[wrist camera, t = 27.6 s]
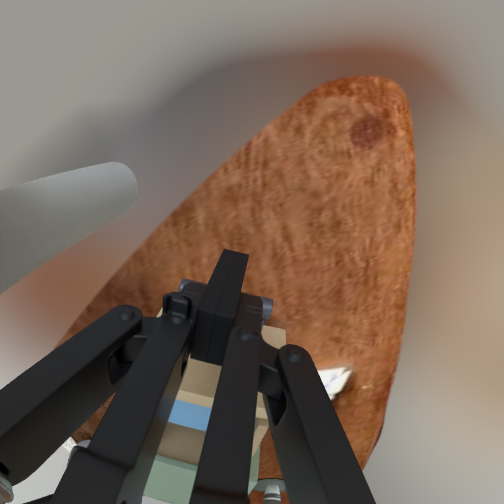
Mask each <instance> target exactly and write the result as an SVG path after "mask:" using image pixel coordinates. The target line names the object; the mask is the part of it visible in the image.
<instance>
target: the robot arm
mask: <svg viewBox="0 0 504 504" xmlns="http://www.w3.org/2000/svg"><path fill="white" fill-rule="evenodd" d="M248 257H249V255H248V254H244V253H239V252H235V251H231V250H227V249H224V250H223V252H222V254H221V256H220V259H219V261H218V263H217V265H216V267H215V269H214V272H213V274H212V276H211V278H210V280H209V282H208V285H204V284H200V283H196V282H192V281H191V282H189V283H187V284H186V285H184V287H183V289H182V290H181V292H171V293H168V294H166V295H165V296H164V297H163V309H162V315H161V316H160V317H142V312H141V311H140V310H139V309H138V308H137V307H134V306H131V305H121V306H117V307H115V308H114V309H112V310H111V311H109V312H108V313H106V314H105V315H103V316H102V317H100V318H99V319H98V320H96V321H95V322H93V323H92V324H90V325H89V326H88V327H86V328H85V329H83V330H82V331H80V332H79V333H78V334H76V335H75V336H73V337H72V338H70V339H69V340H68V341H66V342H65V343H63V344H62V345H61V346H59V347H58V348H56V349H55V350H54V351H52V352H51V353H49V354H48V355H47V356H46V357H44V358H43V359H41V360H40V361H39V362H37V363H36V364H34V365H33V366H32V367H30V368H29V369H28V370H26V371H25V372H24V373H22V374H21V375H19V376H18V377H17V378H16V379H14V380H13V381H11V382H10V383H9V384H7V385H6V386H5V387H4V388H2V389H1V390H0V504H5V503H6V502H8V503H9V502H11V501H12V500H13V498H14V495H13V492H12V486H14V485H16V484H18V483H20V482H22V481H23V480H25V479H26V478H28V477H29V476H30V475H31V474H32V473H34V472H35V471H36V470H37V469H38V468H39V467H40V466H41V465H42V464H43V463H44V462H45V461H46V460H47V459H48V458H49V457H50V456H51V455H52V454H53V453H54V452H55V451H56V450H57V449H58V448H59V447H60V446H61V445H62V444H63V443H64V442H65V441H66V440H67V439H68V438H69V437H70V436H71V435H72V434H73V433H74V432H75V431H76V430H77V429H78V428H79V427H80V426H81V425H82V424H83V423H84V422H85V421H86V420H87V419H88V418H89V417H90V416H91V415H92V414H93V413H94V412H95V411H96V410H97V409H98V408H99V407H100V406H101V405H102V404H103V403H104V402H105V401H106V400H107V399H108V398H109V397H110V396H111V395H112V394H113V393H114V392H115V391H116V390H117V389H118V388H119V389H118V390H117V392H116V394H115V396H114V398H113V400H112V401H111V403H110V405H109V407H108V409H107V411H106V412H105V414H104V416H103V418H102V420H101V422H100V424H99V426H98V427H97V429H96V431H95V433H94V435H93V437H92V439H91V441H90V443H89V445H88V446H87V447H86V448H85V449H79V450H78V451H77V452H76V453H75V454H74V456H73V457H72V459H71V461H70V462H69V464H68V466H67V468H66V470H65V472H64V474H63V476H62V478H61V480H60V482H59V484H58V486H57V488H56V491H55V493H54V494H51V495H48V496H45V497H42V498H40V499H36V500H34V501H30V502H27V503H23V504H141V502H142V496H143V493H144V489H145V486H146V483H147V480H148V477H149V474H150V471H151V469H152V466H153V463H154V460H155V457H156V454H157V451H158V448H159V445H160V442H161V439H162V436H163V434H164V431H165V428H166V425H167V422H168V419H169V416H170V414H171V411H172V408H173V405H174V402H175V400H176V397H177V394H178V391H179V388H180V386H181V383H182V380H183V377H184V375H185V372H186V369H187V366H188V358H189V355H190V359H194V360H198V361H202V362H206V363H210V364H214V365H218V366H222V367H221V371H220V376H219V380H218V384H217V388H216V392H215V396H214V401H213V405H212V409H211V413H210V417H209V422H208V426H207V430H206V434H205V438H204V443H203V447H202V451H201V455H200V459H199V464H198V468H197V472H196V476H195V480H194V485H193V488H192V492H191V496H190V500H189V504H250V499H249V498H248V486H249V477H250V468H251V458H252V448H253V438H254V428H255V418H256V407H257V396H258V392H260V393H262V398H263V402H264V406H265V410H266V414H267V418H268V422H269V426H270V430H271V434H272V438H273V442H274V446H275V450H276V454H277V457H278V461H279V465H280V469H281V473H282V477H283V480H284V484H285V488H286V491H287V495H288V499H289V502H290V504H376V503H375V500H374V498H373V495H372V494H371V491H370V489H369V486H368V484H367V482H366V480H365V477H364V475H363V473H362V470H361V468H360V466H359V463H358V461H357V459H356V457H355V454H354V452H353V450H352V448H351V445H350V443H349V441H348V439H347V436H346V434H345V432H344V430H343V427H342V425H341V423H340V421H339V418H338V416H337V414H336V412H335V409H334V407H333V405H332V403H331V400H330V398H329V396H328V394H327V392H326V389H325V387H324V385H323V383H322V380H321V378H320V376H319V374H318V372H317V369H316V367H315V365H314V363H313V361H312V358H311V356H310V354H309V353H308V352H307V351H306V350H305V349H304V348H302V347H300V346H297V345H292V344H288V345H284V346H282V347H280V349H278V348H275V347H273V346H271V345H269V344H268V343H267V342H265V341H264V339H263V338H262V334H261V325H262V314H263V301H262V300H261V298H260V297H259V296H254V295H250V294H245V293H241V288H242V283H243V279H244V275H245V270H246V266H247V262H248ZM190 353H191V354H190Z"/></svg>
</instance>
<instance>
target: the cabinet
mask: <svg viewBox="0 0 504 504" xmlns="http://www.w3.org/2000/svg"><path fill="white" fill-rule="evenodd" d="M259 455H260V444H259V446H258V448H257V450H256V452H255V454H254V455H253V457H252V459H251V468H250V477H249V486H248V494H249V493H250V492H251V490H252V489H253V488H254V486H255V485H256V484H257V480H258V468H259ZM197 468H198V466H197V465H193V464H189V463H185V462H181V461H177V460H174V459H170V458H167V457H163V456H160V455H157V454H156V457H155V460H154V463H153V466H152V469H151V471H150V474H149V477H148V480H147V483H146V486H145V489H144V493H143V495H145V496H148V497H151V498H154V499H157V500H161V501H164V502H168V503H171V504H189V500H190V496H191V492H192V488H193V485H194V480H195V476H196V472H197Z"/></svg>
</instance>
